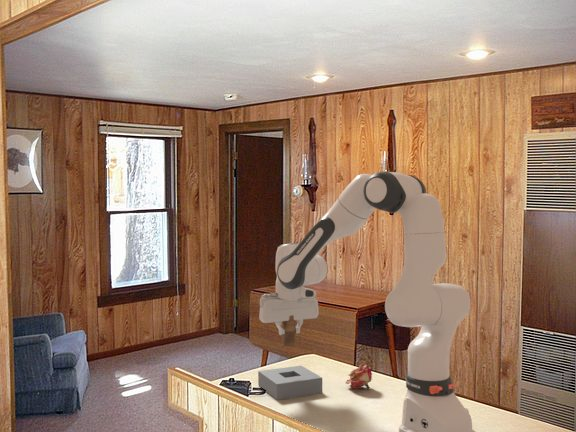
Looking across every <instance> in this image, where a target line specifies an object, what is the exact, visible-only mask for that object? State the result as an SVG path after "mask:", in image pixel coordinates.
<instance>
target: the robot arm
mask: <svg viewBox="0 0 576 432" xmlns="http://www.w3.org/2000/svg"><path fill="white" fill-rule="evenodd" d="M332 204H333V205H332V206H331V207H330V208H329V209H328V210H327V212H326V213H325V214H324V215H323V216H322V217H321V218H320V219H319V220H318V221H317V222H316V223H315V224H314V226H312V228H310V230H309V232H307V234H306V235H305V236H304V237H303V239H302V240H301V241H300V242H299V243H298V242H290V243H283V244H280V245H279V246H277V250H276V252H275V273H276V280H275V292H273V293H263V295H261V296H260V298H259V316H258V319H259V321H260V322H261V323H263V324H267V323H268V324H269V323H275V326H276V328H277V329H278V335H279V336H283V335H285V329H283V327H282V326H283V321H288V320H289V316H292V315H294V320H295V321H296V325H295V335H296V334H300V333H301V332H300V331H301V327H302V325H303V323H304V320H311V319H317V318H318V317H319V313H320V312H319V302H318V298H316V296H317V291H316V290H314V289H312V288H308V287H307V286H311V285H316V284H319V283H322V282H324V280H325V279H327V276H328V273H329V269H328V263H327V260H326V259H325V258H324V257H323V256H322V255H321V254H319V253H321V252H322V250H323V249H324V247H326V246H327V245H329V244H330V243H332V242H335V241H336V240H339V239H342V238H345V237H348V236H352V235H354V234H355V233H357V232H358V231H359V230H360V229H361V228H362V227H363V226H364V225H365V224H366V223H367V221H368V220H369V219H370V217H371V215H373V213H374V211H375V210H376V209H377V210H379V211H382V212H387V213H391V214H396V213H397V214H399V216H400V217H401V219H402V225H403V226H402V227H403V228H402V229H403V246H404V249H403V250H404V256H403V257H404V258H403V259H404V262H403V267H402V271H401V275H400V278H399V279H398V281H397V283H396V285H394V287H393V289H392V290H391V291H390V292H389V293H388V294H387V296H386V299H385V303H384V311H385V314H386V316H387V318H388V320H389V322H390V323H392V324H393V325H395V326H398V327H402V328H404V327H405V328H417V327H421V328H420V331H419V333H418V334H417V336H415V338H413V340H411V341H410V343H409V345H408V346H407V372H406V376H405V386H406V387H405V388H407V390H406V394H405V397H404V399H403V407H402V417H401V424H399V426H398V432H476V430H474V429H473V422H472V421H473V420H472V416H471V414H470V411H469V409H468V408H467V407H465V406H464V405H463V404H462V402H461V401H460V399H459V398H458V397H457V396H456V394H455V392H454V391H455V389H456V388H457V387H456V386H457V384H456V383H453V381H452V378H451V375H450V359H451V357H450V356H451V355H450V354H451V347H452V343H453V339H454V336H455V334H456V331H457V329H458V328H459V325H460V323H461V322H462V321H463V320H464V319H465V318H466V317H467V316H468V314H469V313H470V310H471V298H470V295H469V293H468V292H467V291H468V290H467V289H466V288H464V287H463V286H462V285H460V284H459V285H458V284H454V283H448V282H446V283H445V282H443V283H442V282H441V283H440V282H439V283H434V279H435V276H436V274H437V272H438V271H439V269H441V268H442V267H443V266H444V265H445V263H446V261H447V246H446V233H445V232H446V231H445V221H444V216H443V210H442V206H441V203H440V200H439V199H438V198H437V197H436V196H435V195H433V194H431V193H427V189H426V186H425V184H424V182H423V181H422V180H421V179H419V178H418V177H416V176H414V175H410V174H404V173H402V172H397V171H395V172H394V171H379V172H376V173H373V174H370V173H361V174H358V175H356V177H354V178H353V179H352V180H351V182H349V184H348V185H347V186H346V187H345V188H344V189H343V190H342V192H341V193H340V195H339V196H338V197H337V199H336V200H335V202H334V203H332Z"/></svg>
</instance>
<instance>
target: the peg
mask: <svg viewBox="0 0 576 432" xmlns="http://www.w3.org/2000/svg"><path fill="white" fill-rule="evenodd" d="M295 327H296V320H294V315H292V316H289V320H288V321H282V329H285V335H282V337H283V338H282V340H283V342H282V343H283V346H284V347H294V346H296V334H295Z"/></svg>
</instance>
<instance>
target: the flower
mask: <svg viewBox="0 0 576 432" xmlns="http://www.w3.org/2000/svg"><path fill="white" fill-rule="evenodd" d="M361 365H362V364H359V366H358V367H357V368H355V369H352V370H351V371H350V373H348V376H349V379H346V381H345V384H347V385H349V388H350V389H351V390H355V389H360V388H362V387H365V388H366V389H367V390H370V389H371V387H370V386H369V383H371V382H372V380H373V371H372V370H373V369H372V368H371V367H370V366H369V365H368V364H366V365H365V364H364V365H362V366H361Z"/></svg>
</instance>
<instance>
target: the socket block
mask: <svg viewBox="0 0 576 432" xmlns="http://www.w3.org/2000/svg"><path fill="white" fill-rule="evenodd" d="M257 373H258V374H257V375H258V376H257V377H258V379H257V381H258V385H259V386H260V387H259V386H258V387H259V388H261V387H262V388H264V389H265V390H266V391H265V392H266V393H267V394H269V396H271V397H273V398H274V399H275V400H276V401H281V400H287V399H294V398H300V397H306V396H312V395H318V394H319V395H320V394H323V377H322V376H321V375H318V374H317V373H315V372H313V371H311V370H310V369H308V368H306V367H305V366H303V365H295V366H294V365H293V366H288V367H286V366H285V367H279V368H271V369H265V370H264V369H263V370H258V371H257ZM262 388H261V389H262Z"/></svg>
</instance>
